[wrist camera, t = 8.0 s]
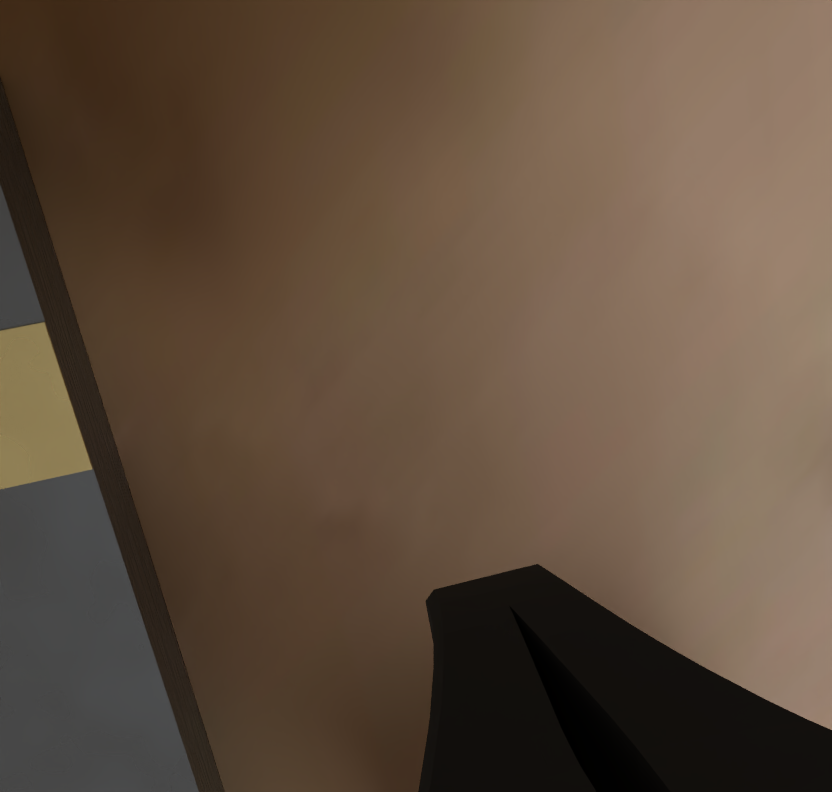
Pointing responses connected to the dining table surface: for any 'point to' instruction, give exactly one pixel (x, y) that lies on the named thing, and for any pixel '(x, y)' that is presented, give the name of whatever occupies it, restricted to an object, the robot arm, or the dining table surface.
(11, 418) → the console
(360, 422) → the dining table surface
